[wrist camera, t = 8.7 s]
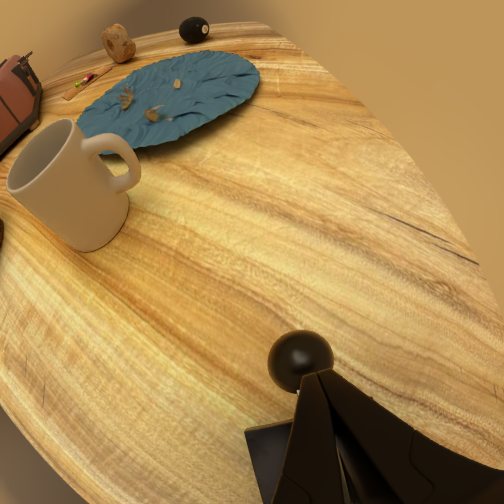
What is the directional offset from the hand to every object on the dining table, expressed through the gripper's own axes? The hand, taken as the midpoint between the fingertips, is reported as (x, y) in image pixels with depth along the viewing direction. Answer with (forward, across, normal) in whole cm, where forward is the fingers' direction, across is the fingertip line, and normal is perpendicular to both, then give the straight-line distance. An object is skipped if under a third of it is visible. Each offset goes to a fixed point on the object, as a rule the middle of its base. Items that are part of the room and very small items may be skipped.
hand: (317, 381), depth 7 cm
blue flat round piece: (+36, +9, -19) cm, 42 cm away
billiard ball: (+52, +2, -34) cm, 62 cm away
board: (+52, +28, -35) cm, 69 cm away
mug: (+22, +15, -5) cm, 27 cm away
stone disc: (+55, +19, -37) cm, 69 cm away
